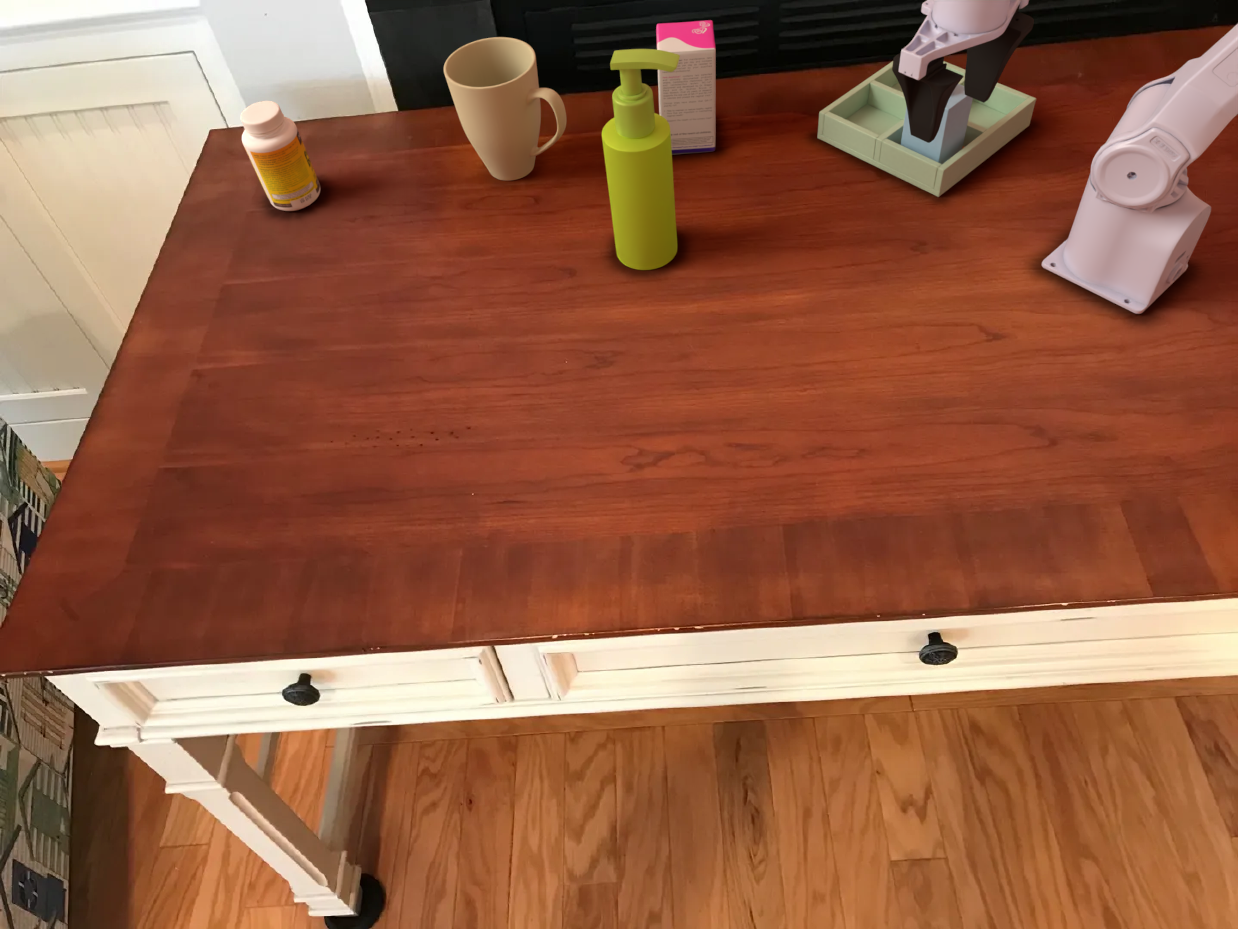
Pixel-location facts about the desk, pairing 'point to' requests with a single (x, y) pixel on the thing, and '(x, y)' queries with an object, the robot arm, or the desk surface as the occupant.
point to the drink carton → (943, 129)
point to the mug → (501, 103)
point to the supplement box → (689, 85)
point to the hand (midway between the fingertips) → (949, 116)
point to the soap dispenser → (640, 164)
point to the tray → (876, 122)
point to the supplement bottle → (279, 157)
